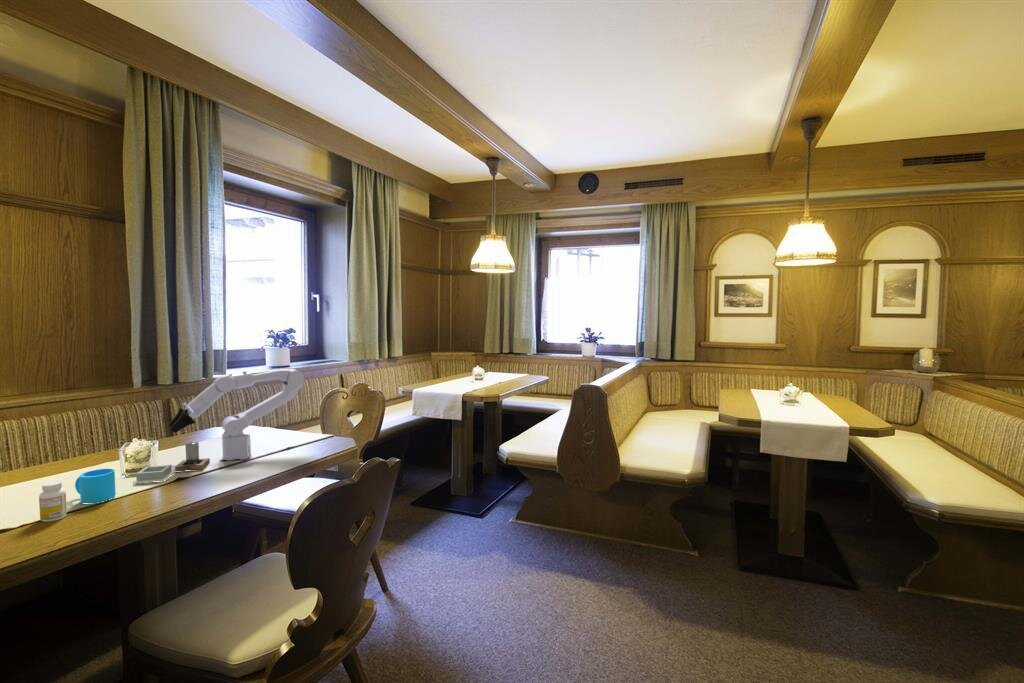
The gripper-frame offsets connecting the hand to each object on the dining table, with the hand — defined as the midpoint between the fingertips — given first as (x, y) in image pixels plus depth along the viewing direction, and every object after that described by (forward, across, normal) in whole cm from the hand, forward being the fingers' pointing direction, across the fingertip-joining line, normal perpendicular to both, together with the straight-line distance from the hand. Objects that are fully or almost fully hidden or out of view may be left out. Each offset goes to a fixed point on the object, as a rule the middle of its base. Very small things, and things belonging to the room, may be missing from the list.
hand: (171, 428), depth 182 cm
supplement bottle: (+31, +35, -10) cm, 48 cm away
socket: (+5, +6, +14) cm, 16 cm away
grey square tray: (+14, +12, +6) cm, 19 cm away
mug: (+25, +23, -4) cm, 34 cm away
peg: (+5, +6, +14) cm, 16 cm away
